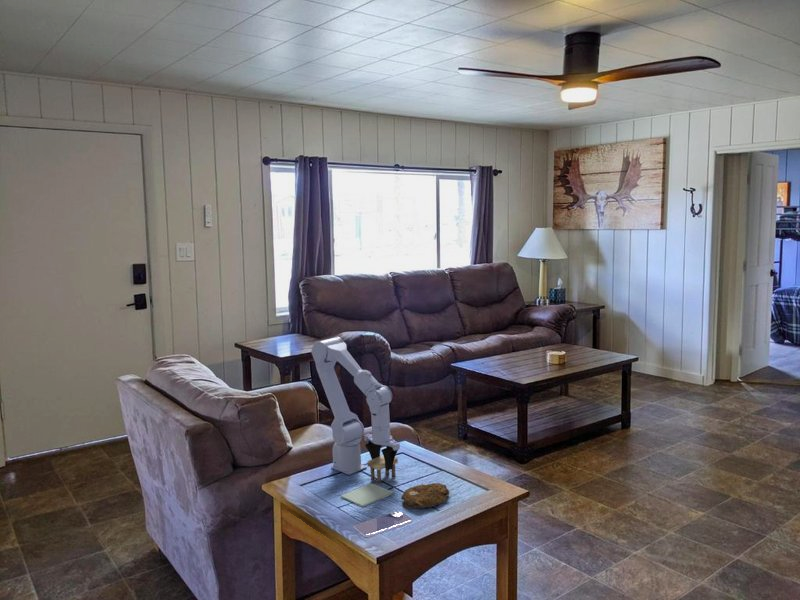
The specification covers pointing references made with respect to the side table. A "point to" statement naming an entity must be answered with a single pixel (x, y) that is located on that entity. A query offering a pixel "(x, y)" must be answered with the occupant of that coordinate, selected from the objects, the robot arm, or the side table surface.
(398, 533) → the side table surface
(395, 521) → the mobile phone
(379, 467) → the tan block with pegs
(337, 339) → the robot arm
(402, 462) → the side table surface
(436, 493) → the decorative rock
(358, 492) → the mat
